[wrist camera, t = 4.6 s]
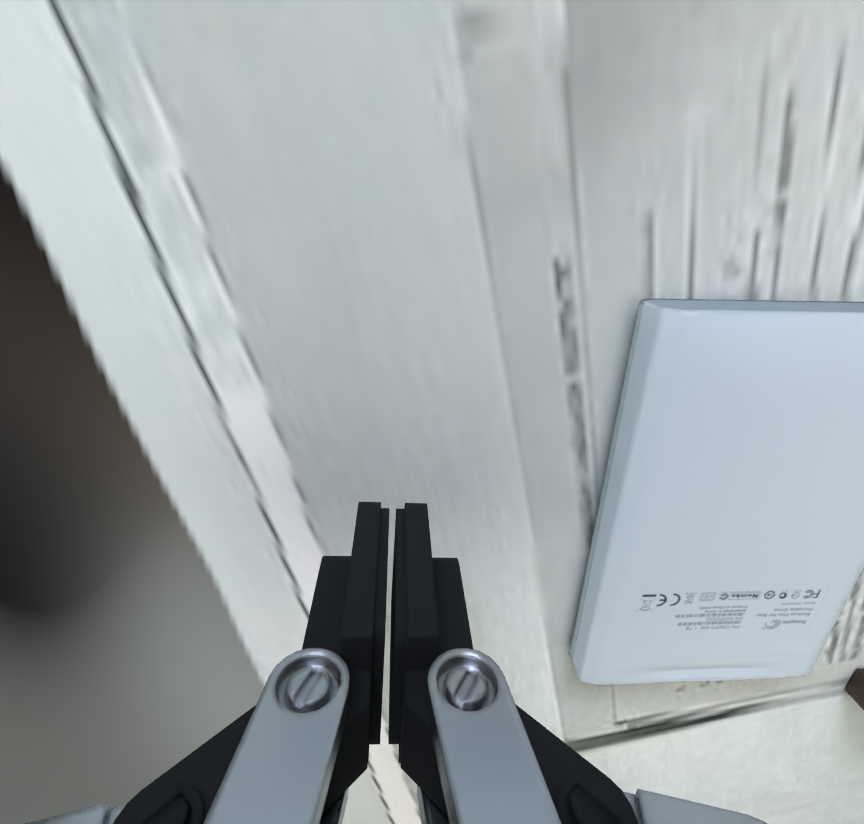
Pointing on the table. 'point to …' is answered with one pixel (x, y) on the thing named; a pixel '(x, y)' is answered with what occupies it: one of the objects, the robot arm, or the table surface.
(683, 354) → the hard drive
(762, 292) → the table surface
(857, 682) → the dock
